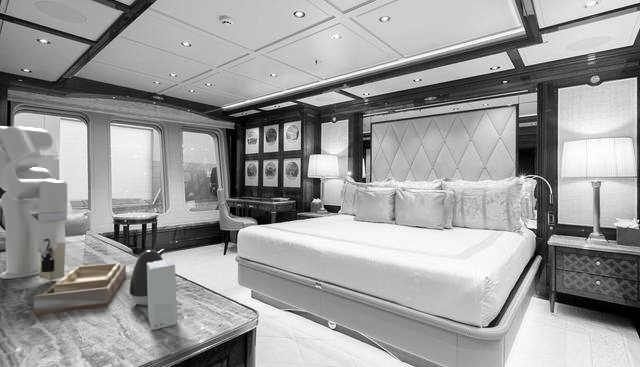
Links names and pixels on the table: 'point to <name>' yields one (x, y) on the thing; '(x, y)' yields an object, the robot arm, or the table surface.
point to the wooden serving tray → (77, 297)
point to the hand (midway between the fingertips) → (52, 267)
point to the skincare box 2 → (161, 294)
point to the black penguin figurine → (142, 276)
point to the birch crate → (87, 277)
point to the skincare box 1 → (55, 264)
